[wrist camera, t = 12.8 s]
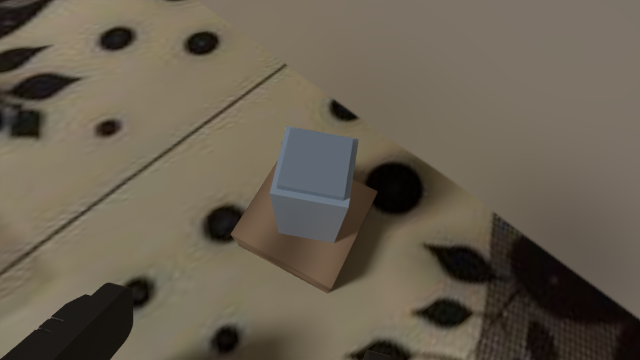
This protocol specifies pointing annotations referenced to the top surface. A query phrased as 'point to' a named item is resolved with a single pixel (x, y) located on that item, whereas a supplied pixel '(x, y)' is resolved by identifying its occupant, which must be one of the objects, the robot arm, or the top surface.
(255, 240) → the walnut box
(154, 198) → the top surface
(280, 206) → the pale blue upright prism
